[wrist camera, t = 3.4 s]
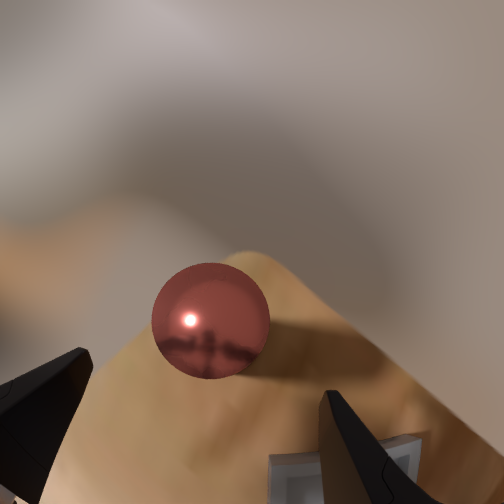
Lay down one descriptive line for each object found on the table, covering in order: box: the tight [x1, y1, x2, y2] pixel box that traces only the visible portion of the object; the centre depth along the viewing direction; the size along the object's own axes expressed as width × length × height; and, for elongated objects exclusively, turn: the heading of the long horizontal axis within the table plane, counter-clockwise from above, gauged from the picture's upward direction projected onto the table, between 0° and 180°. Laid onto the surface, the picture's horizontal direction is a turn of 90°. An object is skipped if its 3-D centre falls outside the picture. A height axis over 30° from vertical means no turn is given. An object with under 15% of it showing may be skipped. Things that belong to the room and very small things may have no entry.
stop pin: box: [152, 263, 270, 379], centre depth 14 cm, size 4×4×10 cm
